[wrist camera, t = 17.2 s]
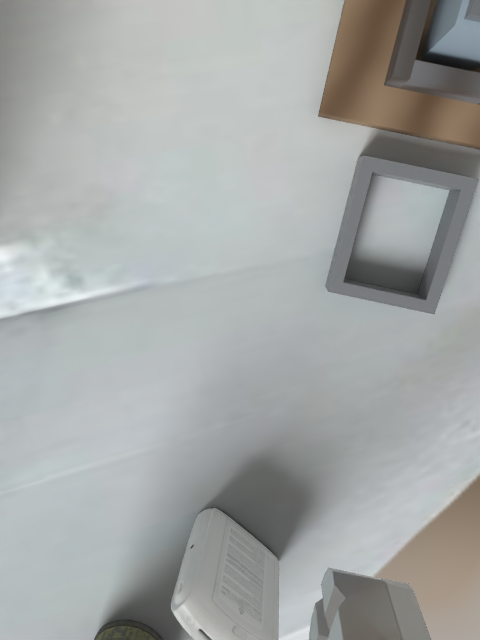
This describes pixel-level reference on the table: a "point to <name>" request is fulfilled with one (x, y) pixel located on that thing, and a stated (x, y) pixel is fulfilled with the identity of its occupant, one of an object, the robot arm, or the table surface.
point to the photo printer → (226, 583)
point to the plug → (454, 34)
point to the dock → (398, 76)
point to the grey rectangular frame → (442, 245)
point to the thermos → (126, 631)
